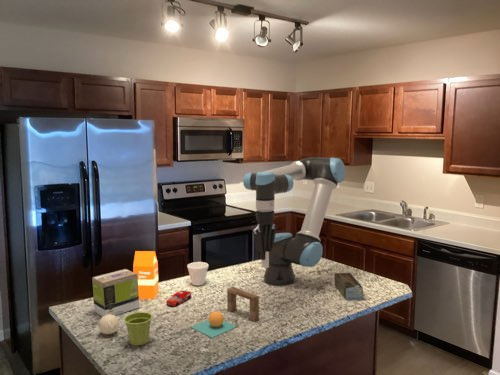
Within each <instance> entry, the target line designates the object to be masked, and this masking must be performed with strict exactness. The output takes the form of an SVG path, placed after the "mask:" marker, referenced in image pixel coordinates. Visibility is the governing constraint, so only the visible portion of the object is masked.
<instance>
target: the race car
mask: <svg viewBox="0 0 500 375" xmlns="http://www.w3.org/2000/svg"><path fill="white" fill-rule="evenodd" d="M191 299H192V292H191V291H190V290H179V291H176V292H175V293H173V294H172V295H171V296H170V297H169V298H168V299H166V306H168V307H178V306H180V305H181V304H183V303H185V302H188V301H189V300H191Z"/></svg>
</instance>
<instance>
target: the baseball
mask: <svg viewBox="0 0 500 375" xmlns="http://www.w3.org/2000/svg"><path fill="white" fill-rule="evenodd" d="M119 326H120V321H119V318H118V317H117V315H112V314H108V315H105V316H103V317H102V316H101V318H100V320H99V321H98V328H99V332H101V333H102V334H103V335H112V334H114V333H116V332H117V331H118V329H119Z"/></svg>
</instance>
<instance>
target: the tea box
mask: <svg viewBox="0 0 500 375" xmlns="http://www.w3.org/2000/svg"><path fill="white" fill-rule="evenodd" d="M91 281H92V294H93V296H92V297H93V308H94V310H93V311H94V312H95V314H98V315H99V316H101V318H102V317H103V316H105V315H108V314H112V315H115V316H118V315H120V314H124V313H126V312H129V311H133V310H135V309H140V299H139V290H138V275H137V274H136V273H134V272H133V270H132V271H131V270H129V269H127V268H124V269H120V270H115V271H112V272H109V273H104V274H100V275H96V276H93V277H91Z"/></svg>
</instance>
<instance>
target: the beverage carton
mask: <svg viewBox="0 0 500 375" xmlns="http://www.w3.org/2000/svg"><path fill="white" fill-rule="evenodd" d="M334 286H335V287H336V289H337V290H338V291H339V293H340V294H341V296H342V297H343V298H344V300H345V301H363V299H364V287H363V285H361V283H360V282H359V281H358V280H357V279H356V277H354V275H353V274H352V273H351V272H338V273H337V272H336V273H334Z"/></svg>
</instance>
